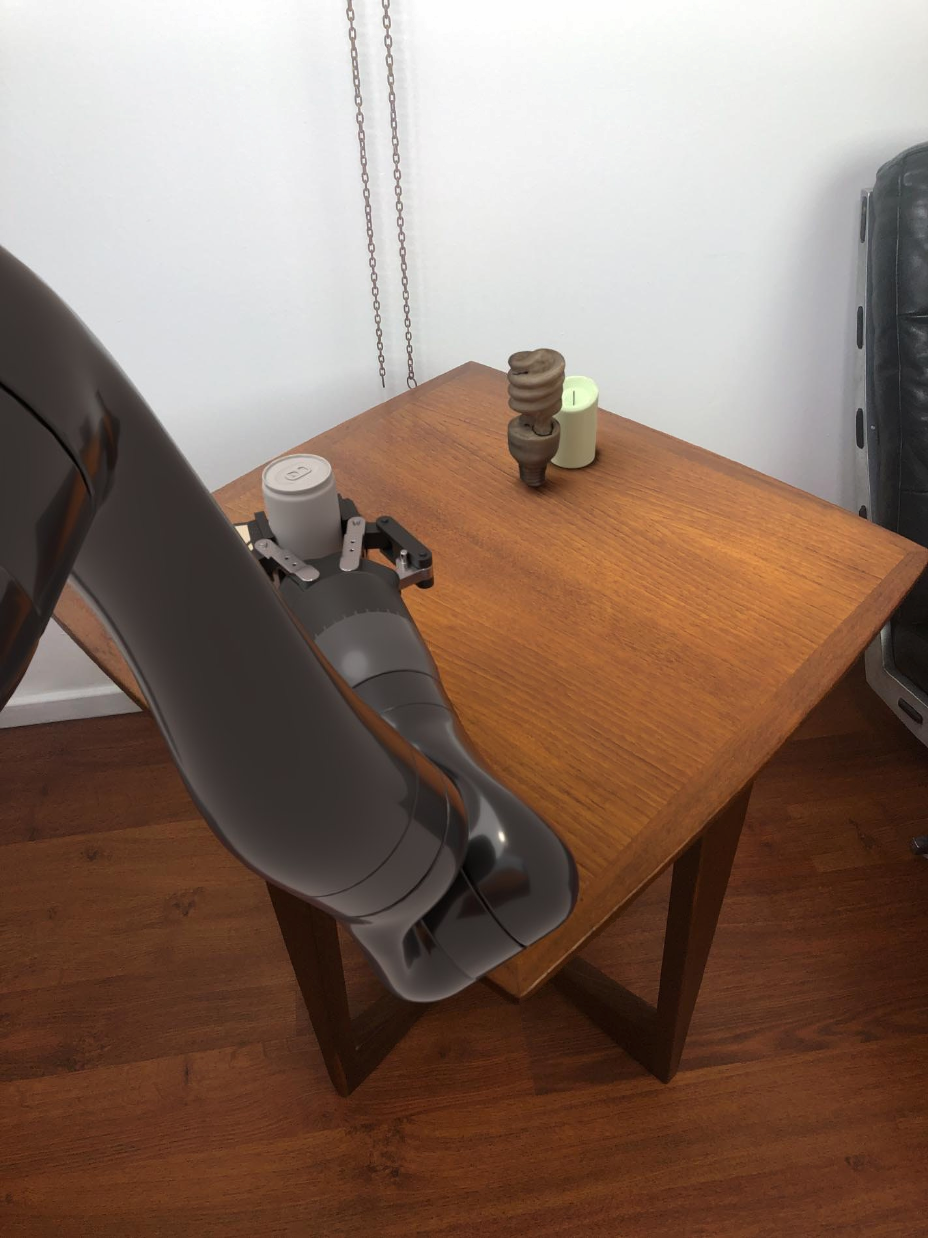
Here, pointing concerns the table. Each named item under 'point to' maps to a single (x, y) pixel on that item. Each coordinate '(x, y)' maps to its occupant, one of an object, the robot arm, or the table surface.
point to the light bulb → (535, 410)
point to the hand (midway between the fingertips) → (298, 513)
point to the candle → (577, 423)
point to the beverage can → (303, 505)
